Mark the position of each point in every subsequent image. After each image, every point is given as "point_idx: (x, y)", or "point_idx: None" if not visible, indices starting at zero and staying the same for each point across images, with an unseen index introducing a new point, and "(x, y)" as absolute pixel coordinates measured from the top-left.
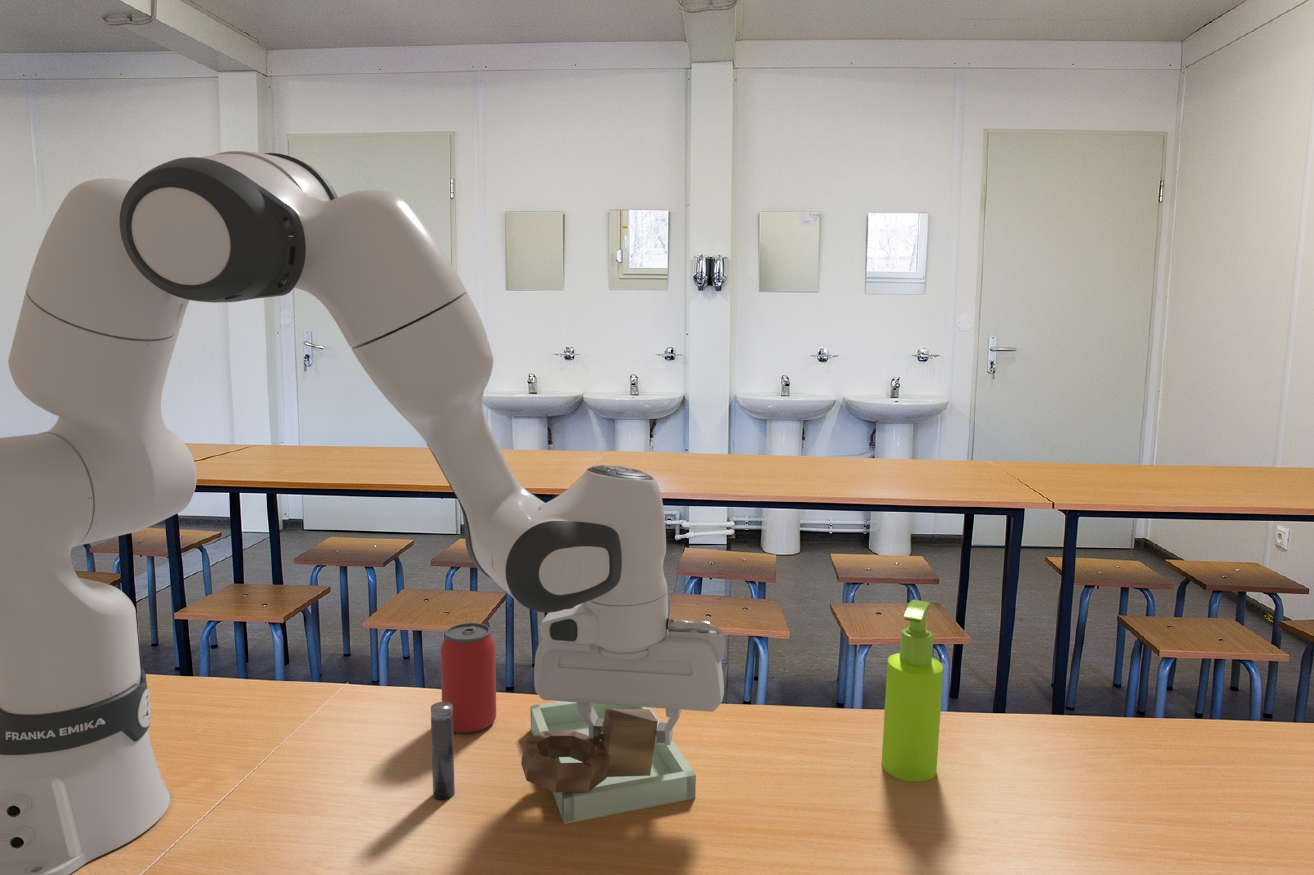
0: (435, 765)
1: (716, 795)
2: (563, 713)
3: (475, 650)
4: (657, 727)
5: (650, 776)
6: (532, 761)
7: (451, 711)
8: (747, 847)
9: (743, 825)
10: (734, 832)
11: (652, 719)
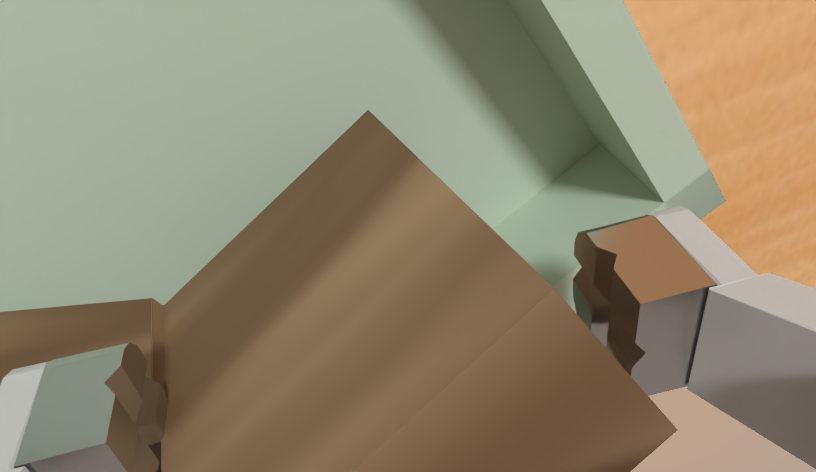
0: None
1: (728, 38)
2: None
3: None
4: (634, 364)
5: (411, 86)
6: None
7: None
8: (802, 260)
9: (809, 173)
10: (774, 219)
11: (634, 447)
